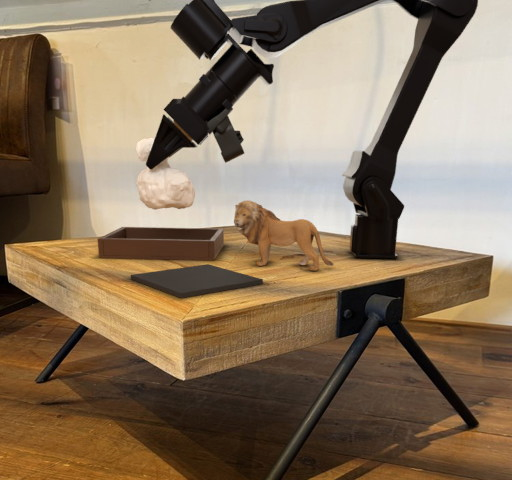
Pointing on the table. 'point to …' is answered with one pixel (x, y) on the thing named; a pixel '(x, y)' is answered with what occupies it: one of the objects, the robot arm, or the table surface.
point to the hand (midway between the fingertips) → (149, 166)
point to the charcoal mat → (195, 280)
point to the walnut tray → (162, 243)
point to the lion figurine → (277, 233)
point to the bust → (162, 182)
